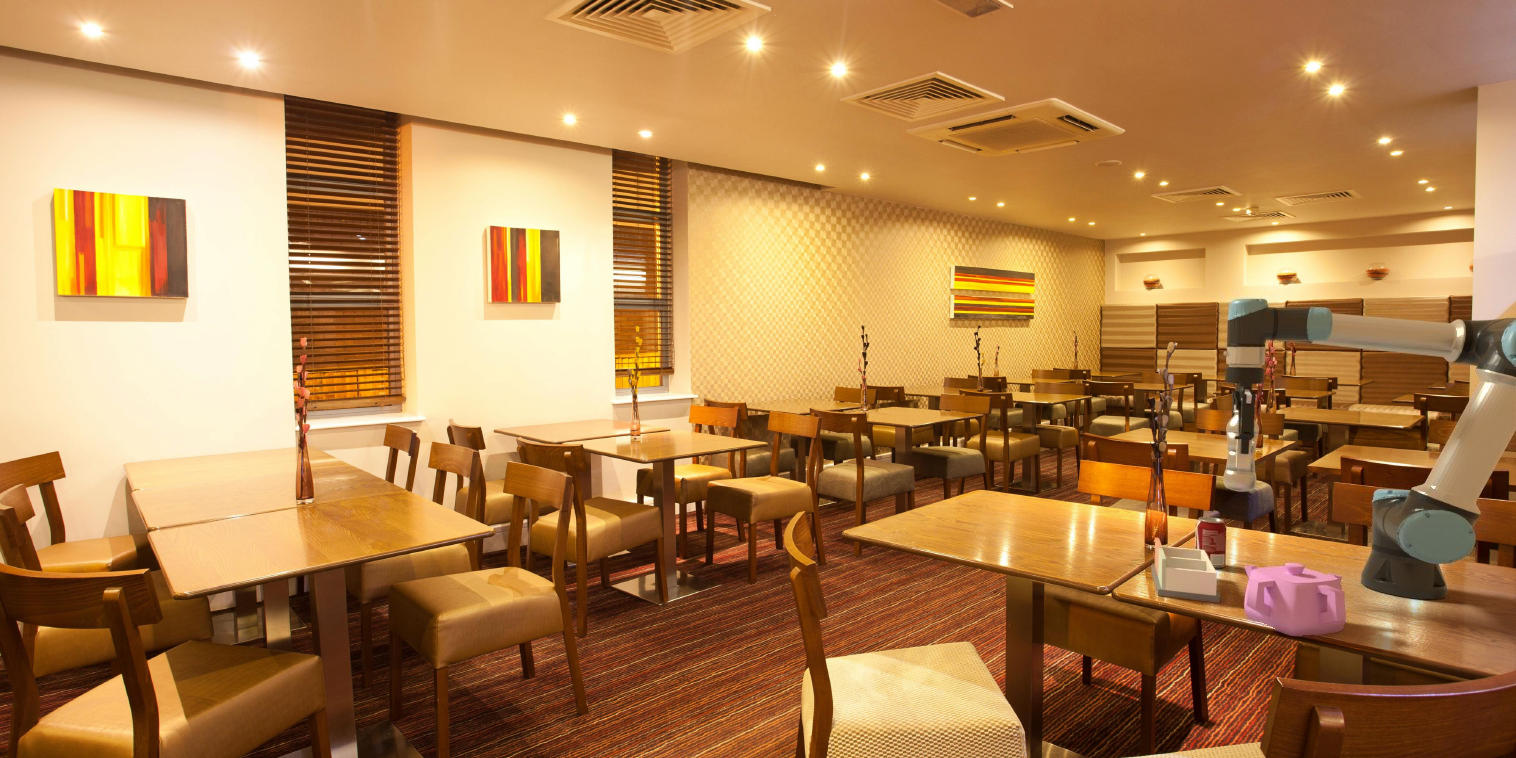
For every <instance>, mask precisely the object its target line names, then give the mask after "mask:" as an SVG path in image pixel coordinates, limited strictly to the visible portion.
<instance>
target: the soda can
mask: <svg viewBox="0 0 1516 758" xmlns="http://www.w3.org/2000/svg"><path fill="white" fill-rule="evenodd" d="M1224 522H1225V521H1224V520H1223V519H1222V518H1218V517H1212V516H1200V517H1198V521H1197V522H1196V523H1195V533H1194V534H1195V539H1194V541H1195V543H1194V549H1198V550H1204V551H1205V553H1206V554H1207V556H1208V558H1209V560H1210V562H1211V564H1212V565H1213V567H1214V569H1215V570H1217V569H1221V568H1224V567H1225V566H1226V564H1227V563H1226V560H1227V557H1226V555H1227V526H1226V525H1225V523H1224Z"/></svg>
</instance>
